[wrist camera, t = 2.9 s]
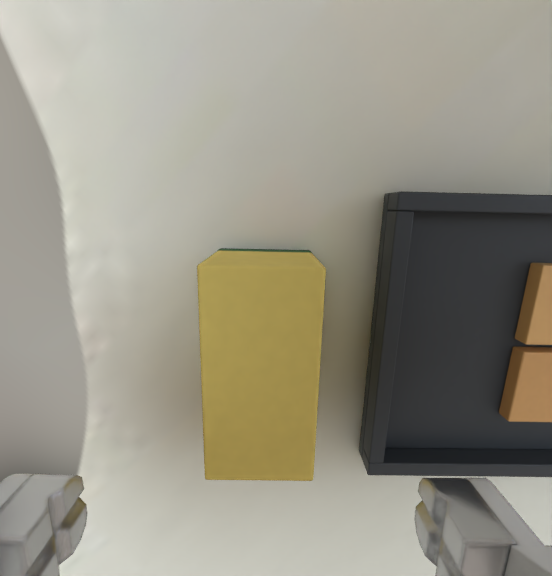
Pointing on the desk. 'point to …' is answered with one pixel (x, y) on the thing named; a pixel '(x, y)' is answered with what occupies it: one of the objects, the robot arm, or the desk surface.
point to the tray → (452, 335)
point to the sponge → (260, 362)
